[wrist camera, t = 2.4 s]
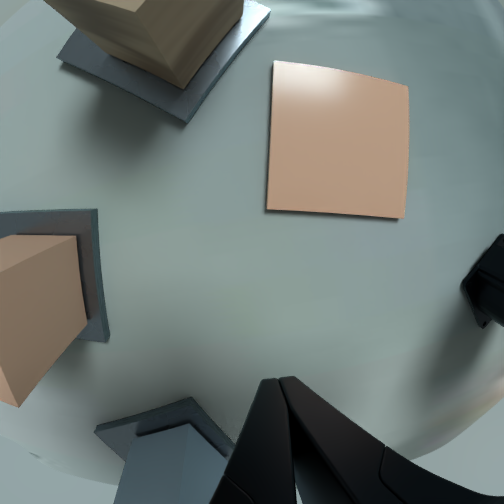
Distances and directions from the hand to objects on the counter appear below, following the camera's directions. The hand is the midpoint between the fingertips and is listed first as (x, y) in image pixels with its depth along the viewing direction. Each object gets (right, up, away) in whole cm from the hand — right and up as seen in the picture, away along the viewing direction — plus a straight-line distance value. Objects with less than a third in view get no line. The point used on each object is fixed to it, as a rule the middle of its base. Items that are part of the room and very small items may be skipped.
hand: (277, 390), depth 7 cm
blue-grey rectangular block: (-7, -14, +14) cm, 21 cm away
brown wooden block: (-5, +16, +6) cm, 18 cm away
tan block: (-15, +2, +10) cm, 18 cm away
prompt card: (+5, +10, +10) cm, 15 cm away
